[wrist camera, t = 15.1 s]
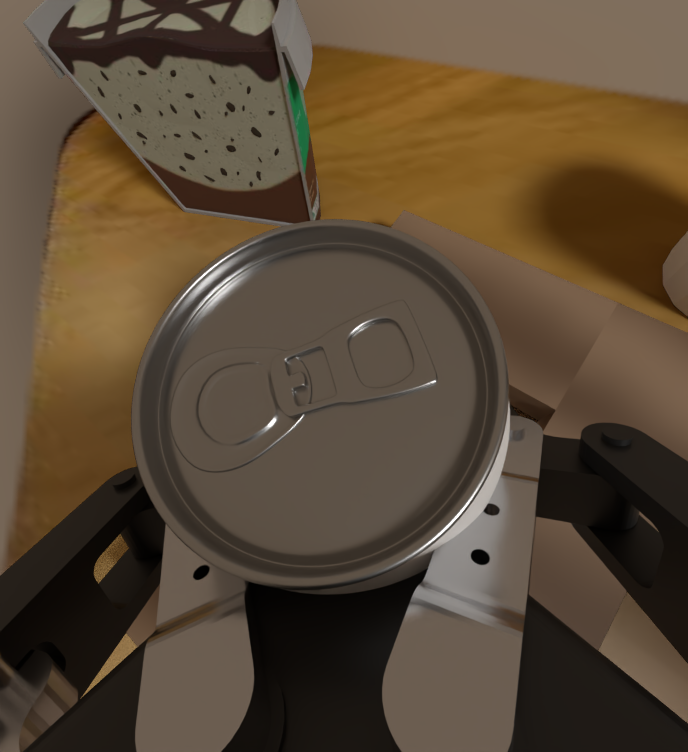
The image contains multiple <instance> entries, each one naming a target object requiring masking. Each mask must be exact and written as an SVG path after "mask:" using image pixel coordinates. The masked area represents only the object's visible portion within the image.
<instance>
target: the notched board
mask: <svg viewBox="0 0 688 752" xmlns="http://www.w3.org/2000/svg"><path fill="white" fill-rule="evenodd" d="M391 228H393V229H396V230H399V231H401V232H404V233H406V234H409V235H411V236H413V237H415V238H417V239H419V240H421V241H423V242H425V243H426V244H428V245H430V246H431V247H433V248H434V249H436V250H437V251H439V252H440V253H441V254H443V255H444V256H445V257H447V258H448V259H449V260H450V261H451V262H453V263H454V264H455V265H456V266H457V267H458V268H459V269H460V270H461V271H462V272H463V273H464V274H465V275H466V276H467V278H468V279H469V280H470V281H471V282H472V284H473V285H474V286H475V287H476V289H477V290H478V292H479V293H480V294H481V296H482V298H483V299H484V301H485V302H486V304H487V306H488V308H489V310H490V312H491V314H492V316H493V318H494V320H495V322H496V325H497V327H498V330H499V333H500V336H501V339H502V342H503V346H504V350H505V355H506V360H507V367H508V376H509V403H510V404H511V405H512V406H513V407H515V408H517V409H519V410H520V411H522V412H524V413H526V414H527V415H529V416H531V417H533V418H534V419H536V420H538V422H537V424H538V425H540V427H541V428H542V430H543V434H545V435H548V436H553V437H562V438H573V439H580V438H581V432H582V430H583V429H584V428H585V427H586V426H588V425H591V424H594V423H605V422H606V423H618V424H623V425H627V426H630V427H633V428H636V429H638V430H640V431H642V432H644V433H645V434H647V435H648V436H650V437H651V438H653V439H654V440H656V441H657V442H659V443H661V444H662V445H664V446H665V447H667V448H668V449H670V450H671V451H673V452H674V453H676V454H677V455H679V456H680V457H682V458H683V459H685V460H687V461H688V333H687V332H684V331H682V330H680V329H677V328H675V327H673V326H671V325H668V324H666V323H664V322H661V321H659V320H657V319H654V318H652V317H650V316H647V315H645V314H643V313H640V312H638V311H636V310H634V309H631V308H629V307H627V306H624V305H622V304H620V303H617V302H615V301H613V300H610V299H608V298H606V297H603V296H601V295H599V294H597V293H594V292H592V291H590V290H587V289H585V288H583V287H580V286H578V285H576V284H573V283H571V282H569V281H566V280H564V279H562V278H560V277H557V276H555V275H553V274H550V273H548V272H546V271H543V270H541V269H539V268H536V267H534V266H532V265H529V264H527V263H525V262H523V261H520V260H518V259H516V258H513V257H511V256H509V255H506V254H504V253H502V252H499V251H497V250H495V249H492V248H490V247H488V246H486V245H483V244H481V243H479V242H476V241H474V240H472V239H469V238H467V237H465V236H462V235H460V234H458V233H455V232H453V231H451V230H449V229H446V228H444V227H442V226H439V225H437V224H435V223H432V222H430V221H428V220H425V219H423V218H421V217H418V216H416V215H414V214H412V213H409V212H407V211H405V210H404V211H403V212H402V213H401V215H400V216H399V217H398V219H397V220H396V221H395V222H394V224H393V225H392V226H391ZM639 515H640V516H642V517H643V518H644V519H645V520H646V521H647V522H648V523H649V524H650V525H651V526H653V527H654V528H655V529H656V530H657V528H656V527H655V526H654V524H653V523H652V522H651V521H650V520H649V519H648V518H646V517H645V516H644V515H643V514H642V513H641V512H640V513H639ZM159 591H160V584H159V586H158V587H157V589H156V590H155V592H154V593H153V594H152V596H151V597H150V599H149V600H148V602H147V603H146V605H145V606H144V607H143V609H142V610H141V612H140V613H139V615H138V616H137V618H136V619H135V620H134V622H133V623H132V625H131V626H130V628H129V629H128V631H127V632H126V633H127V635H128V636H129V637H130V638H131V639H132V641H133V642H134V643H135V644H136V645H137V647H138V646H139V645H140V644H142V643H143V642H144V641H145V640H146V639H147V638H148V637H149V636H150V635H151V634H153V633H154V631H155V628H156V622H157V612H158V601H159ZM626 593H627V591H626V589H625V588H624V587H623V586H622V585H621V584H620V582H619V581H618V580H617V579H616V578H615V576H614V575H613V574H612V573H611V572H610V570H609V569H608V568H607V567H606V566H605V565H604V563H603V562H602V561H601V560H600V559H599V557H598V556H597V555H596V554H595V553H594V551H593V550H592V549H591V548H590V547H589V546H588V544H587V543H586V542H585V541H584V540H583V538H582V537H581V536H580V535H579V534H578V532H577V531H576V530H575V529H574V527H573V526H572V524H571V523H568V522H563V521H557V520H552V519H546V518H540V517H536V527H535V538H534V548H533V559H532V570H531V581H530V593H529V595H530V596H531V597H533V598H534V599H535V600H536V601H538V602H539V603H540V604H541V605H543V606H544V607H545V608H546V609H547V610H549V611H550V612H551V613H552V614H554V615H555V616H556V617H557V618H559V619H560V620H561V621H562V622H563V623H565V624H566V625H567V626H568V627H570V628H571V629H572V630H573V631H574V632H576V633H577V634H578V635H579V636H581V637H582V638H583V639H584V640H586V641H587V642H588V643H589V644H590V645H592V646H593V647H594V648H595V649H597V650H599V648H600V646H601V644H602V642H603V640H604V638H605V636H606V634H607V632H608V630H609V628H610V626H611V623H612V621H613V619H614V617H615V615H616V613H617V611H618V609H619V607H620V605H621V603H622V601H623V599H624V597H625V595H626Z"/></svg>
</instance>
